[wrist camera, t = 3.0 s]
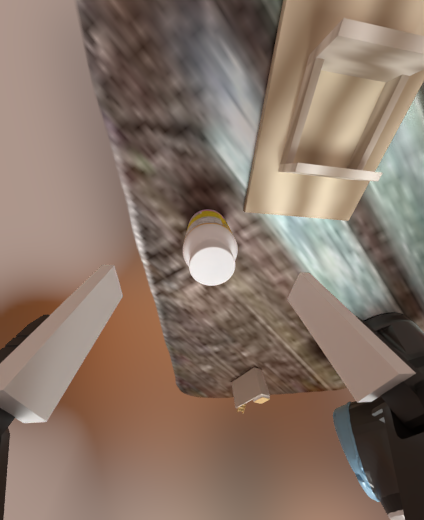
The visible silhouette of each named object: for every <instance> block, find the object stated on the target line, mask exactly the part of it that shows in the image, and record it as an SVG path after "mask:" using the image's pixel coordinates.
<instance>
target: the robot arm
mask: <svg viewBox="0 0 424 520" xmlns="http://www.w3.org/2000/svg"><path fill="white" fill-rule="evenodd" d="M122 297H123V295H122V291H121V288H120V284H119V280H118V276H117V273H116V269H115V266H114V265H101V266H100V267H99V268H98V269H97V270H96V271H95V272H94V273H93V274H92V275H91V276H90V277H89V278H88V279H87V280H86V281H85V282H84V283H83V284H82V285H81V286H80V287H79V288H78V289H77V290H76V291H75V292H74V293H72V295H70V296H69V297H68V298H67V299H66V300H65V301H64V302H63V303H62V304H61V305H60V306H59V307H58V308H57V309H56V310H55V311H54V312H53V313H52V314H51V315H43V316H41V317H40V318H38V319H36V320H35V321H33V322H32V323H30V324H29V325H27V326H26V327H25V328H24V329H23V330H22V331H21V332H20V333H18V334H17V335H16V338H13V339H12V340H11V341H10V342H9V343H7V344H6V346H5V348H2V349H1V350H0V520H3V515H4V503H5V490H6V477H7V464H8V451H9V438H10V433H9V429H8V426H9V425H10V424H11V422H12V421H13V420H14V418H16V419H18V420H19V421H21V422H23V423H33V422H47V420H48V418H49V417H50V415H51V414H52V412H53V410H54V408H55V407H56V405H57V404H58V402H59V400H60V399H61V397H62V395H63V394H64V392H65V391H66V389H67V387H68V386H69V384H70V382H71V381H72V379H73V377H74V376H75V374H76V372H77V371H78V369H79V367H80V366H81V364H82V362H83V361H84V359H85V358H86V356H87V354H88V353H89V351H90V349H91V348H92V346H93V344H94V343H95V341H96V339H97V338H98V336H99V334H100V333H101V331H102V330H103V328H104V326H105V325H106V323H107V321H108V320H109V318H110V316H111V315H112V313H113V312H114V310H115V308H116V307H117V305H118V303H119V302H120V300H121V298H122ZM287 300H288V301H289V302H290V304H291V305H292V307H293V308H294V310H295V311H296V313H297V314H298V316H299V317H300V319H301V320H302V322H303V323H304V325H305V326H306V328H307V329H308V330H309V332H310V333H311V335H312V336H313V338H314V339H315V341H316V342H317V344H318V345H319V347H320V348H321V350H322V351H323V353H324V354H325V356H326V357H327V359H328V360H329V361H330V363H331V364H332V366H333V367H334V369H335V370H336V372H337V373H338V375H339V376H340V378H341V379H342V381H343V382H344V384H345V385H346V387H347V388H348V390H349V391H350V392H351V394H352V395H353V397H354V398H355V400H356V401H355V402H348V403H347V404H346V405H343V406H341V407H339V408H336V409H335V410H334V413H333V419H334V425H335V429H336V432H337V435H338V438H339V441H340V443H341V446H342V448H343V450H344V453H345V455H346V457H347V459H348V462H349V464H350V466H351V468H352V470H353V471H354V472H355V474H356V477H357V479H358V481H359V483H360V485H361V486H362V488H363V489H364V491H365V492H366V494H367V495H368V496H369V497H370V498H372V499H374V500H376V501H377V502H381V504H382V505H383V507H384V509H385V511H386V513H387V515H388V517H389V519H390V520H424V333H423V331H422V330H421V329H420V328H419V327H418V326H417V324H416V323H414V322H413V321H412V320H410V319H409V318H407V317H406V316H405V315H403V314H399V313H389V314H383V315H379V316H376V317H373V318H371V319H369V320H366V321H363V320H361V319H360V318H358V317H357V316H355V315H354V314H353V313H352V312H350V311H349V310H348V309H347V308H346V307H345V306H344V305H343V304H342V303H341V302H340V301H339V300H338V299H337V298H336V297H334V296H333V295H332V294H331V293H330V292H329V291H328V290H327V289H326V288H325V287H324V286H323V285H322V284H321V283H320V282H319V281H317V280H316V279H315V278H314V277H313V276H312V275H311V274H310V273H302V272H300V273H299V275H298V277H297V280H296V282H295V284H294V286H293V288H292V290H291V292H290V295H289V297H288V299H287Z"/></svg>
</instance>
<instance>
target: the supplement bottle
mask: <svg viewBox="0 0 424 520" xmlns="http://www.w3.org/2000/svg"><path fill="white" fill-rule="evenodd" d="M237 251H238V248H237V243H236V240H235V238H234V236H233V234H232V232H231V230H230V228H229V226H228V224H227V222H226V221H225V219H224V217H223V216H222V215H221V214H220V213H218V212H217V211H214V210H210V209H206V210H201V211H199V212H197V213H196V214H194V215H193V216H192V218H191V219H190V221H189V224H188V228H187V232H186V236H185V240H184V245H183V256H184V259H185V262H186V263H187V265H188V266H189V270H190V273H191V275H192V277H193V278H194V279H195V280H196V281H197V282H199V283H201V284H204V285H210V286H212V285H218V284H221V283H224V282H225V281H227V280H228V279H229V278H230V277H231V276H232V274H233V273H234V270H235V259H236V256H237Z"/></svg>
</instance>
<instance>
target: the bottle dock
mask: <svg viewBox="0 0 424 520" xmlns="http://www.w3.org/2000/svg"><path fill="white" fill-rule="evenodd" d="M423 81H424V0H283V4H282V9H281V15H280V20H279V25H278V31H277V36H276V41H275V46H274V52H273V57H272V62H271V68H270V73H269V78H268V83H267V89H266V94H265V99H264V104H263V110H262V115H261V120H260V126H259V131H258V136H257V141H256V147H255V152H254V157H253V163H252V168H251V173H250V178H249V184H248V189H247V194H246V199H245V205H244V210H243V211H244V212H250V213H262V214H274V215H286V216H298V217H310V218H322V219H334V220H346V221H349V219H350V217H351V215H352V213H353V211H354V209H355V208H356V206H357V204H358V202H359V200H360V198H361V196H362V195H363V193H364V191H365V189H366V187H367V185H368V183H369V182H370V181H378V180H379V178H380V177H381V175H382V173H380V172H375V170H376V169H377V167H378V165H379V163H380V161H381V159H382V157H383V156H384V154H385V152H386V150H387V148H388V146H389V144H390V143H391V141H392V139H393V137H394V135H395V133H396V131H397V130H398V128H399V126H400V124H401V122H402V120H403V118H404V117H405V115H406V113H407V111H408V109H409V107H410V105H411V104H412V102H413V100H414V98H415V96H416V94H417V92H418V90H419V89H420V87H421V85H422V83H423Z"/></svg>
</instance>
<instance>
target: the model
mask: <svg viewBox="0 0 424 520" xmlns="http://www.w3.org/2000/svg"><path fill="white" fill-rule="evenodd" d="M232 387H233V394H234V401H235V408H237V412H238V411H242V413H243V412H244V409H245V406H246V403H247V402H249V401H251V400H253V401H254V402H256V403H260V404H262V403H264V402H265V401H267V400H269V399H270V398H269V396H270V395H269V391H268V388H267V385H266V382H265V378H264V375H263V372H262V370H261V369H258V368H255V367H254V368H253V369H251V370H249V371H248V372H246V373H245V374H243V375H242V376H240V377H239V378H237V379H236V380H234V381H233V382H232Z"/></svg>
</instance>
